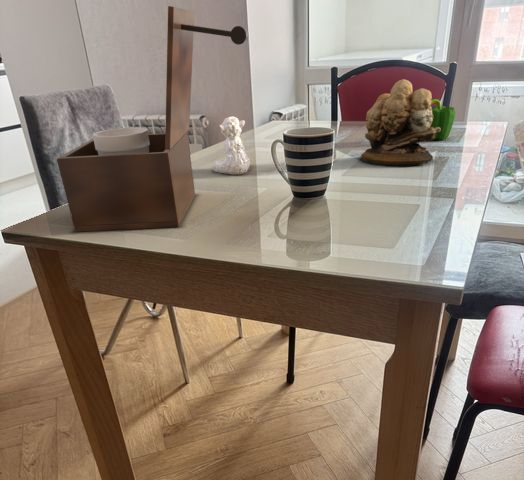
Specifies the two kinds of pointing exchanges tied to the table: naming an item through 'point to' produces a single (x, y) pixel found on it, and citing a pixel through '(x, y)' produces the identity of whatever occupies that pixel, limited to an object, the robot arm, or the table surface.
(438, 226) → the table surface
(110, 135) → the foam cup
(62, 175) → the bin
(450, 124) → the bell pepper
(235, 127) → the white creature statuette
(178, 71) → the bin lid
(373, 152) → the owl figurine
